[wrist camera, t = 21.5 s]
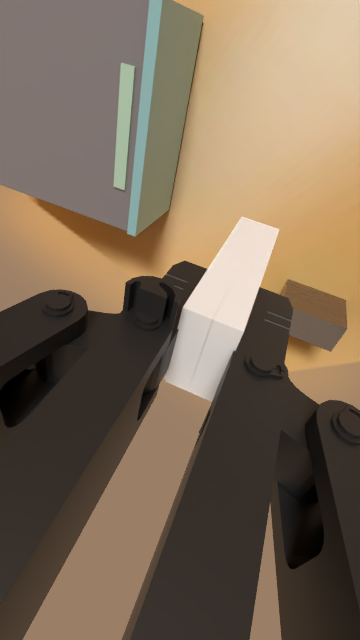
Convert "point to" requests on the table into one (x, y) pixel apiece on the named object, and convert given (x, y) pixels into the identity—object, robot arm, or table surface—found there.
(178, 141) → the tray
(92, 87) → the housing
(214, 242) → the table surface
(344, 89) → the table surface
